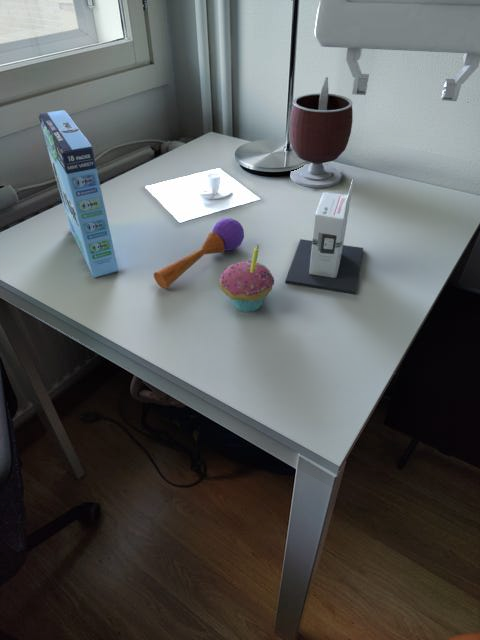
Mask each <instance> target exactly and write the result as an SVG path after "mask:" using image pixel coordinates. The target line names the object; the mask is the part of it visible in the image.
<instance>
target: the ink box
mask: <svg viewBox="0 0 480 640" xmlns="http://www.w3.org/2000/svg"><path fill="white" fill-rule="evenodd" d="M353 187H354V179H351V182H350V187H349V189H348V193H347V194H342V193H334V192H333V193H332V192H326V191H324V192H323V193H322V195H321V197H320V199H319V202H318V205H317V208H316V211H315V214H314V220H313V222H314V223H313V232H312V240H311V241H312V251H311V260H310V270H309V274H312V275H318V276H325V277H332V278H336V277H337V273H338V268H339V264H340V260H341V256H342V250H343V245H344V243H345V236H346V231H347V223H348V217H349V212H350V205H351V200H352V194H353Z"/></svg>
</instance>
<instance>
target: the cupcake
mask: <svg viewBox="0 0 480 640" xmlns="http://www.w3.org/2000/svg"><path fill="white" fill-rule="evenodd" d="M259 250H260V248H259V244H256V247H254V249H253V253H252V259H251V261H250V260H248V261H247V260H245V261H238V262H234V263H233V264H231V265H228V266H227V267H226V268H224V269H223V271H222V273H221V274H220V279H219V288H220V290H221V291H222V293H224V294H225V295H226V297H228V298H230V300H231V303H232V305H233V306H234V308H235V309H236V310H239V311H241V312H245V313H246V312H247V313H249V312H254V311H257V310H258V309H260V307H262V304H263V302H264V299H265V298H266V297H268V296H269V295H270V292H271V291H273V286H274V285H275V278H274V276H273V274H272V273H271V270H270V269H269V268H268V267H266V266H265V265H264V264H262V263H259V262H258V261H257V260H258V255H259Z"/></svg>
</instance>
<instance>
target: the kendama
mask: <svg viewBox="0 0 480 640" xmlns="http://www.w3.org/2000/svg"><path fill="white" fill-rule="evenodd" d="M244 230H245V229H244V228H243V225H242V224H241V222H239V221H238V220H236V219H234V218H231V217H227V218H221V219H220V220H219V221H217V222H216V223H215V224H214V226H213V228H212V231H210V232H209V233H208V234H207V236H206V239H205V241H204V242H203V244H202V246H201V248H200V249H198V250H195V252H192V253H190V254H189V255H186V256H185V257H182V258H181V259H179V260H177V261H174V262H173V263H171V264H168V265H166V266H165V267H163V268H161V269H159V270H157V271H155V272H154V273H153V278H154V280H155V282H156V284H157V286H159V287H160V288H161V289H163V290H166V289H168V288H169V287H170V286H171V285H172V284H174V282H175V281H176V280H177V279H178V278H180V277H181V276H182V275H184V273H185V272H187V270H188V269H190V268H191V267H192V266H193V265H194V264H195V263H197V261H199V260H200V259H201V258H202V257H203V256H204V255H212V254H220V253H221V254H222V253H223V252H225V251H233V250H235V249H237V248H238V247H239V246H241V245H242V243H243V241H244V238H245V231H244Z"/></svg>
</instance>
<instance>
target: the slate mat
mask: <svg viewBox="0 0 480 640" xmlns="http://www.w3.org/2000/svg"><path fill="white" fill-rule="evenodd" d="M312 241H313V240H310V239H301V238H300V239H299V242H298V245H297V247H296V250H295V253H294V256H293V259H292V262H291V263H290V267H289V270H288V272H287V276H286V278H285V281H284V284H287V285H294V286H301V287H306V288H312V289H313V288H314V289H318V290H326V291H332V292H339V293H345V294H351V295H356V292H357V286H358V281H359V280H358V279H359V276H360V275H359V274H360V270H361V263H362V258H363V250H364V247H360V246H353V245H345V244H343V250H342V256H341V260H340V264H339V268H338V273H337V277H336V278H332V277H325V276H318V275H312V274H309V270H310V260H311V251H312Z"/></svg>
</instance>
